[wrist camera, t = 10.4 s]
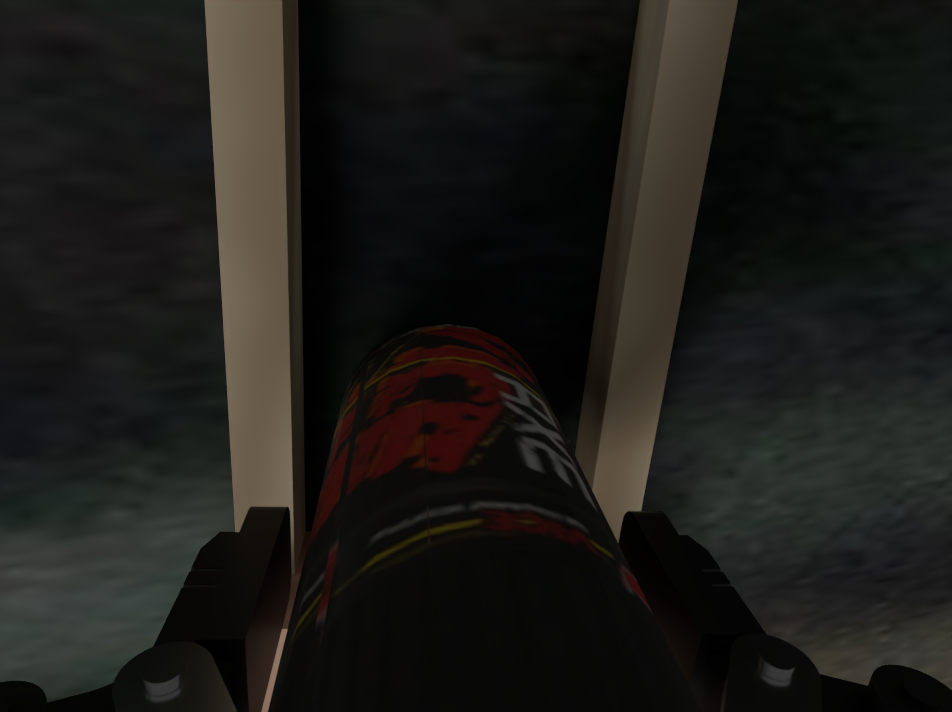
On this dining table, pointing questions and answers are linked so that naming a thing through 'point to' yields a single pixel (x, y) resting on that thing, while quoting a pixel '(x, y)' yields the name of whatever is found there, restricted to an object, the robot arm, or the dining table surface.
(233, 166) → the guide channel
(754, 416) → the dining table surface
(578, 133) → the dining table surface
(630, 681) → the deodorant
